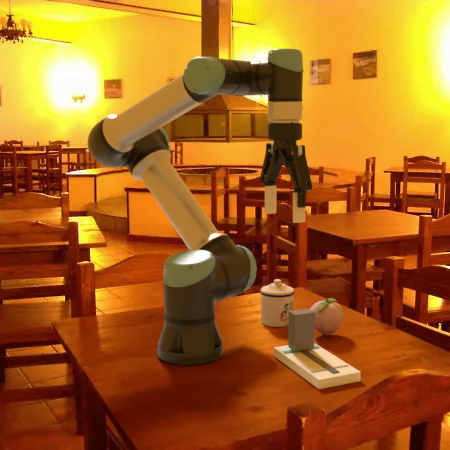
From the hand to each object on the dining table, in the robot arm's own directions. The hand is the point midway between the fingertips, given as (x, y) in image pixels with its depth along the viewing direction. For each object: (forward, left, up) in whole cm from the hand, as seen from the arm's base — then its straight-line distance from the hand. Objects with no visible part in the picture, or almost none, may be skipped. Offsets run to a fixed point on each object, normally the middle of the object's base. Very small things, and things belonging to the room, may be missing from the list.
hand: (284, 217), depth 144 cm
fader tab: (+2, -5, -29) cm, 30 cm away
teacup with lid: (+10, +21, -32) cm, 39 cm away
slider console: (+2, -11, -32) cm, 34 cm away
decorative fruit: (+15, +6, -32) cm, 36 cm away
